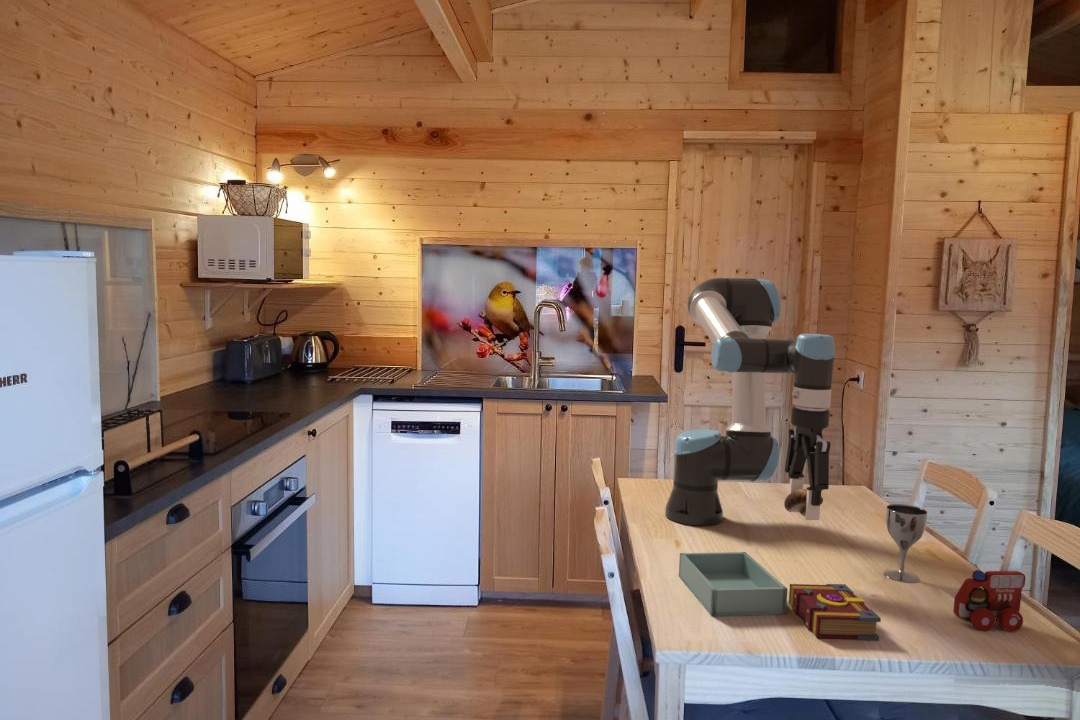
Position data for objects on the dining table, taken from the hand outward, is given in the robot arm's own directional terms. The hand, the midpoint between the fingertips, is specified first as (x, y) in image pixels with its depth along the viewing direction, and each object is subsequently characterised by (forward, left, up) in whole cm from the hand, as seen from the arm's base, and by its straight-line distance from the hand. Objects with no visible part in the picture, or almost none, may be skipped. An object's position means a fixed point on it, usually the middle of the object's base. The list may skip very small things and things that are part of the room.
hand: (803, 513), depth 160 cm
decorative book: (+21, -4, -14) cm, 26 cm away
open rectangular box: (+8, -19, -14) cm, 25 cm away
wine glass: (+1, +23, -14) cm, 27 cm away
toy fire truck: (+24, +25, -14) cm, 38 cm away
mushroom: (0, 0, -1) cm, 1 cm away
